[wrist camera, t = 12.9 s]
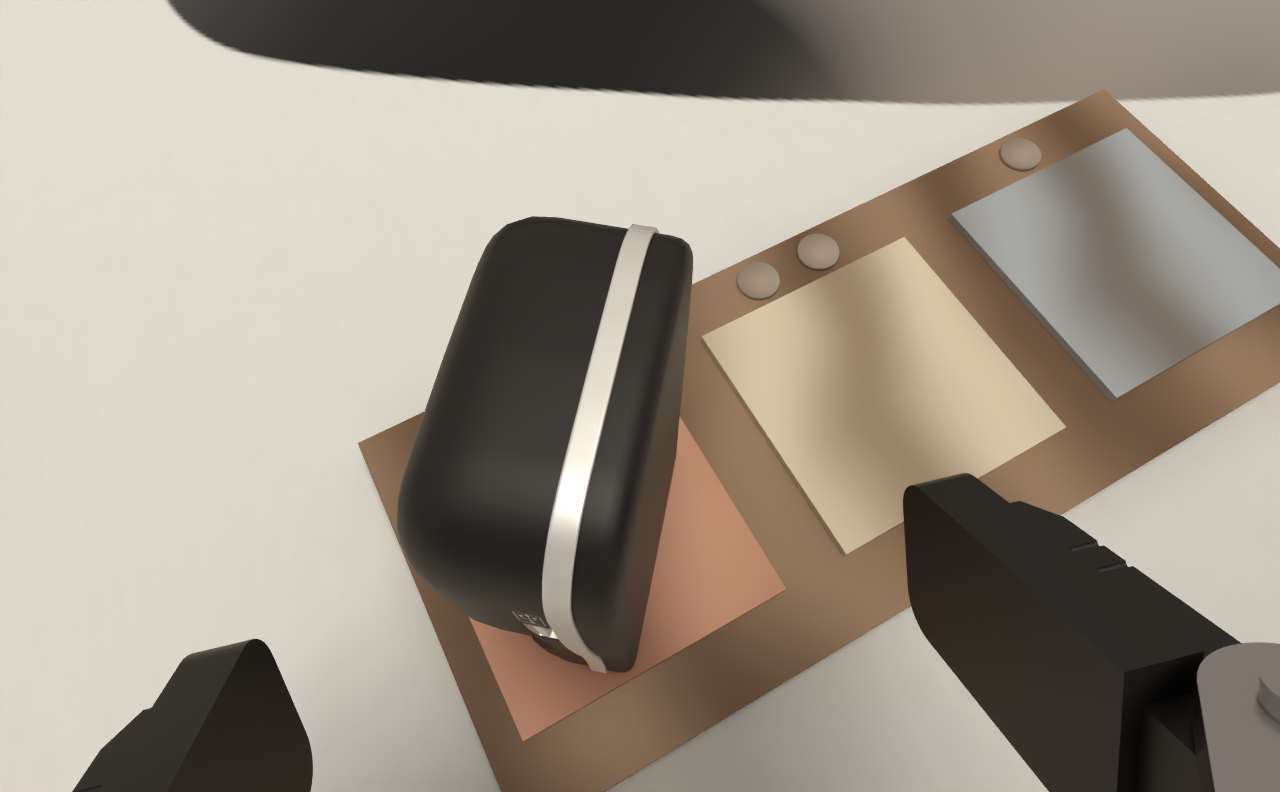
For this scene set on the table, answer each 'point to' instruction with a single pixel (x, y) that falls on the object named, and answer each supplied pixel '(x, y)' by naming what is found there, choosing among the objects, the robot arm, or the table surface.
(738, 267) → the tile board
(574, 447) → the battery charger
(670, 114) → the table surface
